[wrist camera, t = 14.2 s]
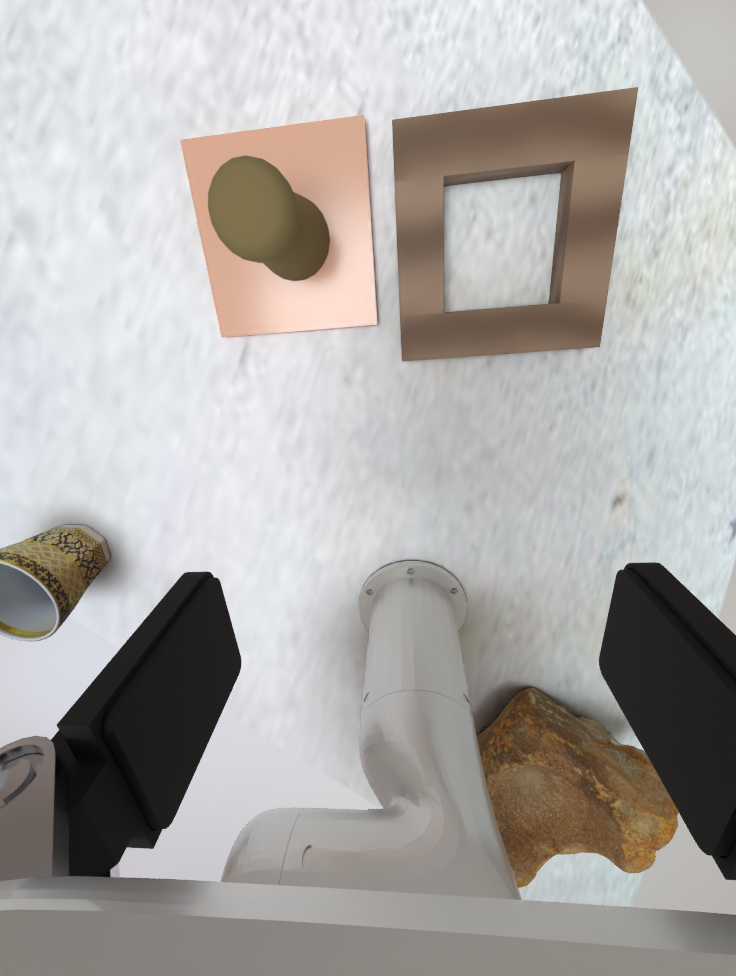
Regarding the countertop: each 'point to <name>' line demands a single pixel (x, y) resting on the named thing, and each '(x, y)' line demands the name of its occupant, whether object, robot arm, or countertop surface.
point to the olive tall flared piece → (267, 219)
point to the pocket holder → (502, 155)
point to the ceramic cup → (47, 579)
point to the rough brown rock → (570, 789)
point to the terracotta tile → (338, 195)
